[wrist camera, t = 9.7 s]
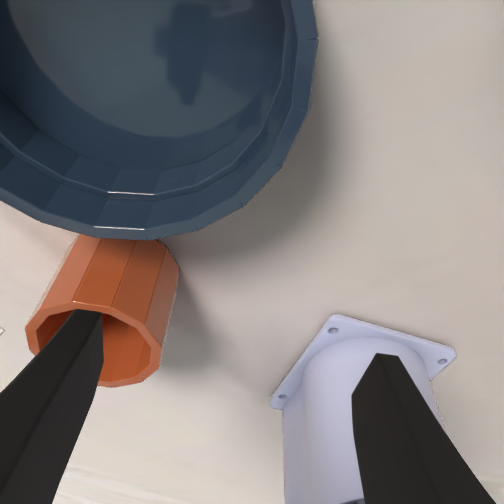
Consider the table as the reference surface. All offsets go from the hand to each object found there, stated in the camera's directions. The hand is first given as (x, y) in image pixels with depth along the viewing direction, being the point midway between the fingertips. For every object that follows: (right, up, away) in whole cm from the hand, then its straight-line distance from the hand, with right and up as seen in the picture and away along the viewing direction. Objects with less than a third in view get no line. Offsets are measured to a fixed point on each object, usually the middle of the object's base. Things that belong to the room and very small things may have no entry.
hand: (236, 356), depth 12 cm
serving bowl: (-4, +11, +4) cm, 12 cm away
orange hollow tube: (-6, +2, +11) cm, 13 cm away
